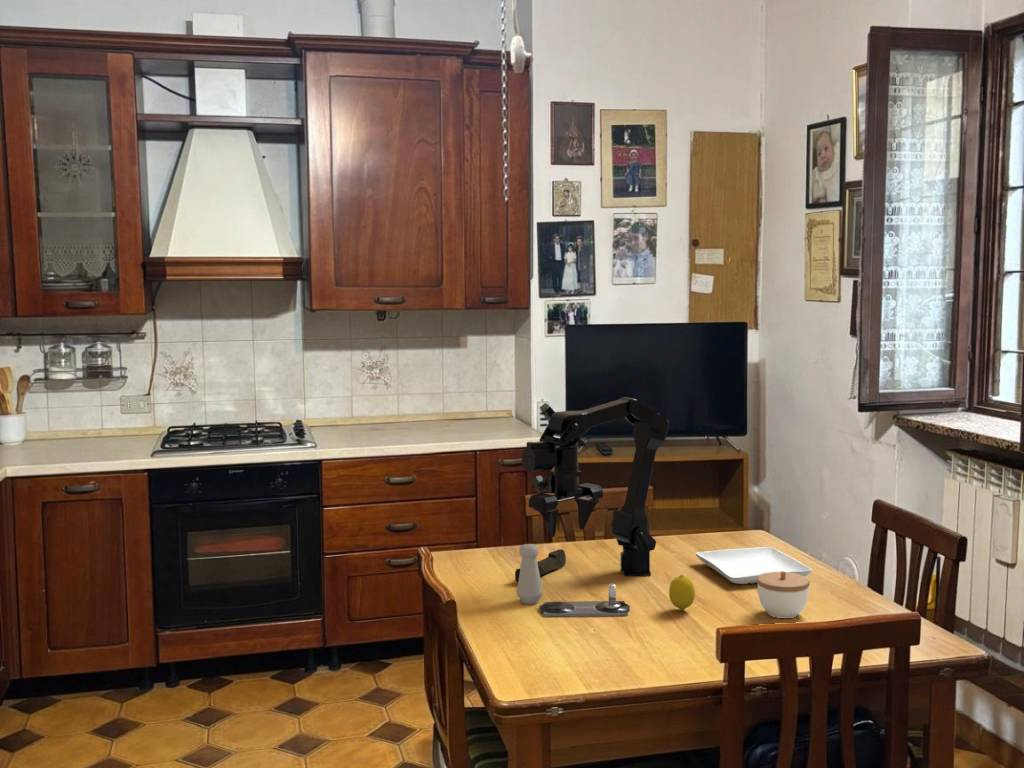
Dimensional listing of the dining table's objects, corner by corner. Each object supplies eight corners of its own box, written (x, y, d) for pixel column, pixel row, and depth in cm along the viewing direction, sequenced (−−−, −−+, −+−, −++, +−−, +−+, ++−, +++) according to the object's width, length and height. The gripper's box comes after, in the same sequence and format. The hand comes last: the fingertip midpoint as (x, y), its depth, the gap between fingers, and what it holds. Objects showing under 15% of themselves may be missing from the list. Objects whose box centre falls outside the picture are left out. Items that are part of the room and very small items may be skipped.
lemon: (696, 607, 226) (696, 572, 225) (692, 615, 221) (692, 579, 220) (671, 605, 228) (671, 570, 227) (666, 613, 222) (666, 577, 222)
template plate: (628, 603, 229) (627, 600, 229) (631, 615, 221) (631, 613, 221) (539, 604, 230) (539, 601, 230) (540, 616, 222) (539, 614, 222)
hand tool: (527, 586, 243) (527, 567, 243) (514, 583, 246) (514, 564, 245) (574, 567, 258) (574, 549, 257) (561, 564, 261) (561, 546, 260)
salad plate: (814, 582, 243) (815, 568, 243) (731, 591, 238) (731, 576, 237) (771, 558, 263) (771, 545, 263) (693, 565, 258) (693, 552, 258)
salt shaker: (534, 607, 228) (533, 550, 226) (511, 603, 231) (510, 546, 229) (547, 600, 233) (546, 543, 231) (525, 596, 236) (524, 540, 234)
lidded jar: (819, 617, 218) (820, 574, 217) (779, 626, 214) (780, 582, 213) (785, 603, 228) (785, 561, 227) (746, 611, 223) (746, 568, 222)
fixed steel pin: (619, 604, 227) (619, 582, 226) (621, 609, 224) (621, 587, 223) (603, 604, 227) (603, 582, 227) (604, 609, 224) (604, 587, 223)
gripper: (571, 456, 250) (572, 519, 252) (512, 468, 239) (514, 533, 240) (604, 462, 242) (605, 527, 244) (544, 475, 230) (545, 543, 232)
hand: (567, 532), depth 240 cm, fingers open, 9 cm apart
